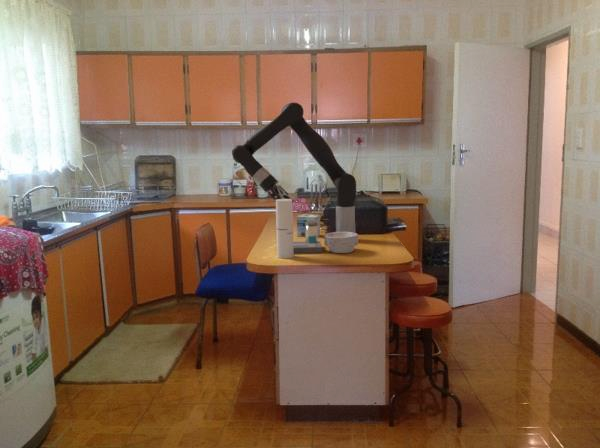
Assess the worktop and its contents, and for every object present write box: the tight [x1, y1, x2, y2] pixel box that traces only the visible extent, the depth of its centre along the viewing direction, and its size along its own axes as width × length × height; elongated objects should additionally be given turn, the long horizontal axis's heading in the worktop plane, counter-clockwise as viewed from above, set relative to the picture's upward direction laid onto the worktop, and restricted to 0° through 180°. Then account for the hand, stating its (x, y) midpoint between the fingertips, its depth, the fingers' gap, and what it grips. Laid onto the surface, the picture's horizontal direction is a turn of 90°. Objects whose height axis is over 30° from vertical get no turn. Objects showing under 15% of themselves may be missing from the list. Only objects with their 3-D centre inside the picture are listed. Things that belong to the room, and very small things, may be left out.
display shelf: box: [293, 240, 323, 254], centre depth 251 cm, size 17×13×4 cm
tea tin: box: [305, 222, 319, 244], centre depth 249 cm, size 6×6×10 cm
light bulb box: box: [296, 213, 321, 238], centre depth 283 cm, size 11×7×11 cm, turn 68°
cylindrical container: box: [275, 198, 295, 259], centre depth 237 cm, size 7×7×25 cm
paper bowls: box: [323, 231, 359, 254], centre depth 246 cm, size 15×15×8 cm
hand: (289, 204), depth 249 cm, fingers open, 8 cm apart
